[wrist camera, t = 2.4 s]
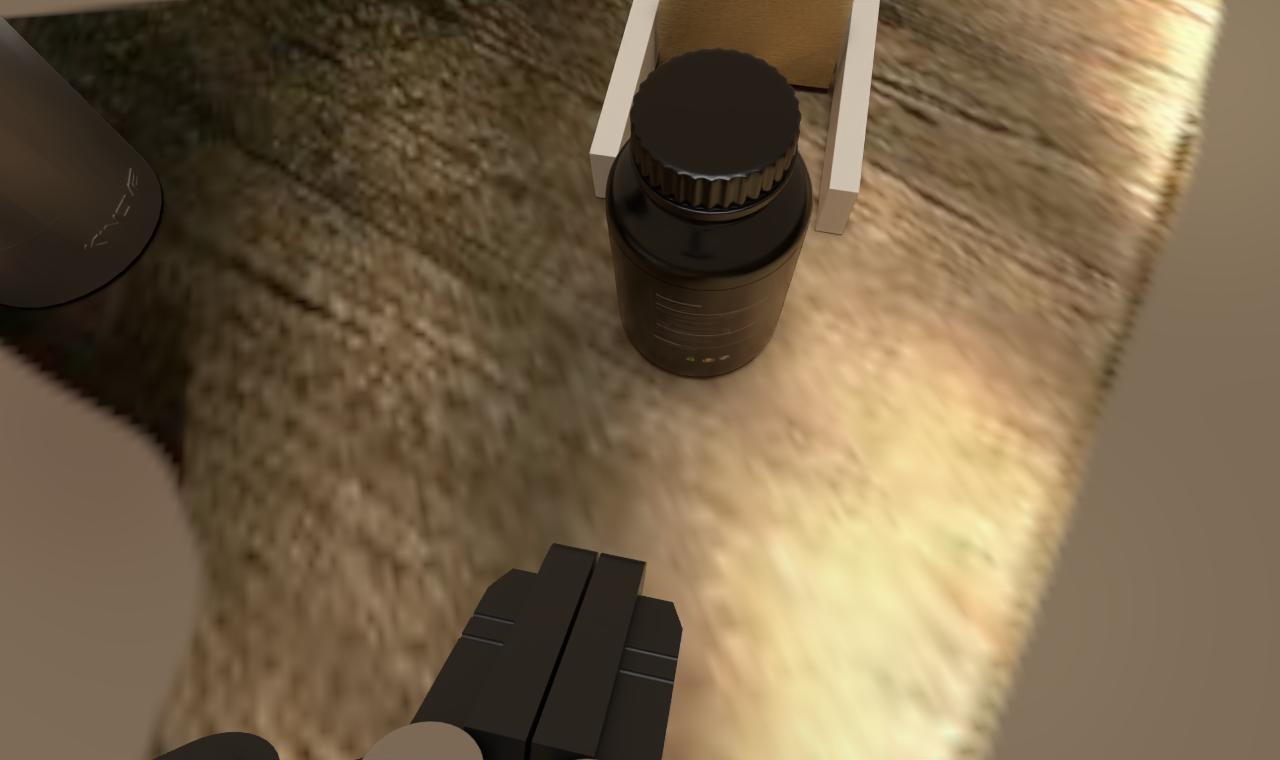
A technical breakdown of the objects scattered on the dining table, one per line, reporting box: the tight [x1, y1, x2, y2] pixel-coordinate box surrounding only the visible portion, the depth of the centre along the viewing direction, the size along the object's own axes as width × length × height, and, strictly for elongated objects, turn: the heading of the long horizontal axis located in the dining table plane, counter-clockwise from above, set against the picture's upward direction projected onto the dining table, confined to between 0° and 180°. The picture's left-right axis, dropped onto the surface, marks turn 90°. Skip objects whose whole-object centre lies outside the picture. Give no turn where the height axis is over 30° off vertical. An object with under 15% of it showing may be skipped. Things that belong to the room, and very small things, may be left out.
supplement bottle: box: [605, 48, 813, 377], centre depth 25 cm, size 7×7×12 cm
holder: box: [590, 0, 880, 234], centre depth 32 cm, size 11×13×6 cm
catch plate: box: [660, 0, 854, 89], centre depth 33 cm, size 8×1×6 cm, turn 78°
